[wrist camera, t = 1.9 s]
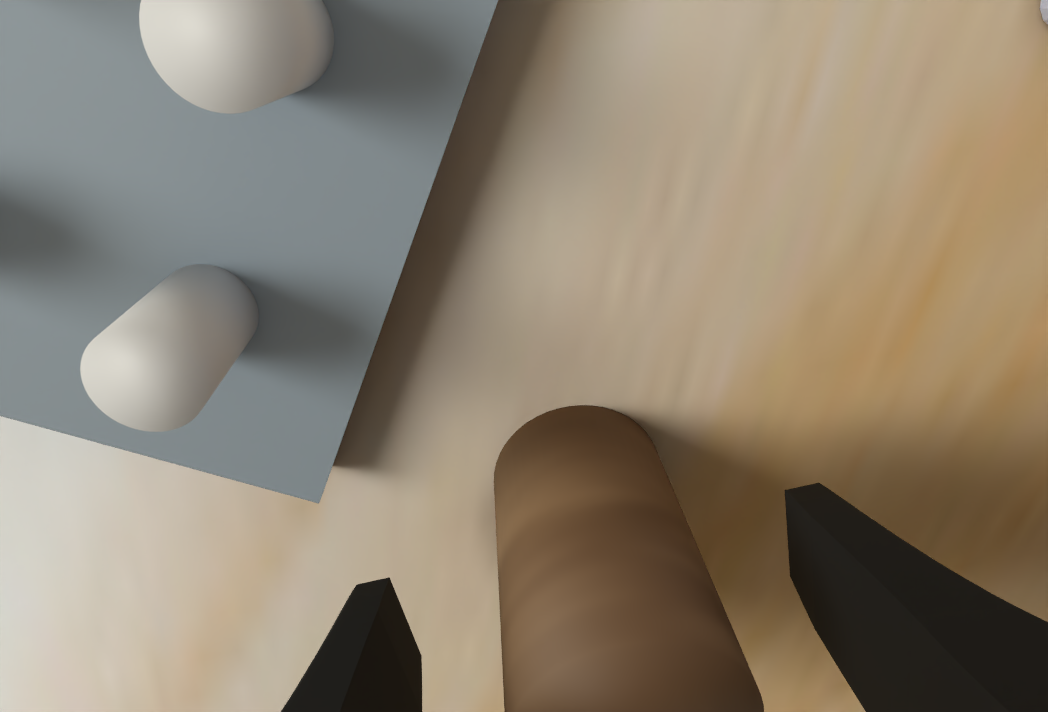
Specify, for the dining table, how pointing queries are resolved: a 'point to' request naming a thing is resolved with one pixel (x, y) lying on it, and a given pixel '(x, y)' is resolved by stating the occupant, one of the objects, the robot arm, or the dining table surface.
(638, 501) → the walnut pin
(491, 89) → the dining table surface
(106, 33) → the peg pad
